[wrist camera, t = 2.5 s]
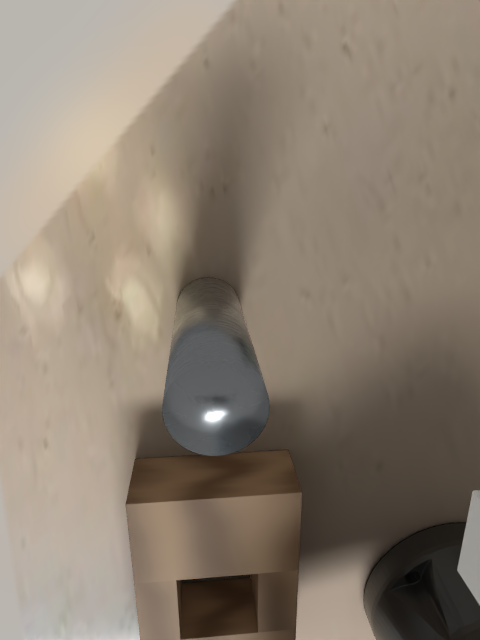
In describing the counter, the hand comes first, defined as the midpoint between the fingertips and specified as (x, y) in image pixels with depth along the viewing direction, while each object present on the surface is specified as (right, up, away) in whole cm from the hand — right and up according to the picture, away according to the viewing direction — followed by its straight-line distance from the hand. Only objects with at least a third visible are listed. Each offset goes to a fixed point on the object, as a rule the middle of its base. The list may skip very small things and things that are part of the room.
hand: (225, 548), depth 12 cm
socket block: (-2, -14, +27) cm, 31 cm away
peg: (-2, +7, +20) cm, 21 cm away
